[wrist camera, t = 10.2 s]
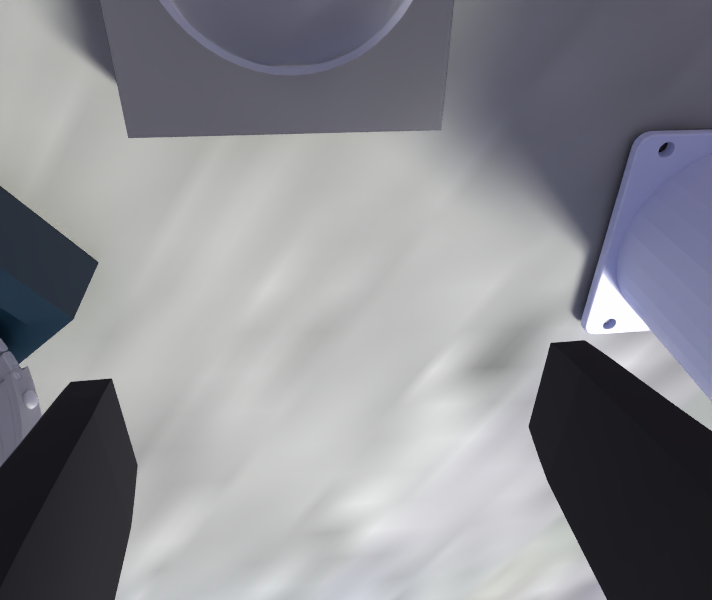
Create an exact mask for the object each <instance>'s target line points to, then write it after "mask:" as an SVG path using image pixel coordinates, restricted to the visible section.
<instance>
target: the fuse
mask: <svg viewBox="0 0 712 600" xmlns="http://www.w3.org/2000/svg"><path fill="white" fill-rule="evenodd" d="M159 1H160V2H161V4H162V5H163V6H164V7H165V9H166V10H167V11H168V13H169V14H170V15H171V16H172V18H173V19H174V20H175V21H176V22H177V23H178V24H179V25H180V26H181V27H182V28H183V29H184V30H185V31H186V32H187V33H188V34H189V35H191V36H192V37H193V38H194V39H195V40H197V41H198V42H199V43H200V44H202V45H203V46H204V47H206V48H207V49H209V50H210V51H212V52H214V53H215V54H217V55H218V56H220V57H222V58H224V59H226V60H228V61H230V62H232V63H234V64H237V65H239V66H242V67H245V68H248V69H251V70H254V71H258V72H263V73H269V74H274V75H304V74H312V73H317V72H321V71H326V70H329V69H332V68H335V67H337V66H340V65H343V64H345V63H347V62H349V61H351V60H353V59H355V58H357V57H358V56H360V55H362V54H363V53H365V52H366V51H367V50H369V49H370V48H372V47H373V46H374V45H376V44H377V43H378V42H379V41H380V40H381V39H382V38H383V37H384V36H385V35H387V34H388V33H389V32H390V31H391V29H392V28H393V27H394V26H395V25H396V24H397V22H398V21H399V20H400V19H401V18H402V16H403V15H404V13H405V12H406V10H407V9H408V7H409V6H410V4H411V3H412V1H413V0H159Z"/></svg>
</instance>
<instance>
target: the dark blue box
mask: <svg viewBox="0 0 712 600" xmlns="http://www.w3.org/2000/svg"><path fill="white" fill-rule="evenodd" d="M97 265H98V262H97V261H96V260H94V259H93V258H92V257H91V256H89V255H88V254H87V253H85V252H84V251H83V250H82V249H80V248H79V247H78V246H76V245H75V244H74V243H73V242H71V241H70V240H69V239H67V238H66V237H65V236H64V235H62V234H61V233H60V232H58V231H57V230H56V229H55V228H53V227H52V226H51V225H49V224H48V223H47V222H45V221H44V220H43V219H42V218H40V217H39V216H38V215H36V214H35V213H34V212H33V211H31V210H30V209H29V208H27V207H26V206H25V205H24V204H22V203H21V202H20V201H18V200H17V199H16V198H15V197H13V196H12V195H11V194H9V193H8V192H7V191H6V190H4V189H3V188H2V187H0V466H1V465H2V464H3V463H4V462H5V461H6V459H7V458H8V457H9V456H10V455H11V453H12V452H13V451H14V450H15V449H16V447H17V446H18V445H19V444H20V443H21V441H22V440H23V439H24V438H25V437H26V435H27V434H28V433H29V432H30V430H31V429H32V428H33V427H34V426H35V424H36V423H37V422H38V421H39V419H40V418H41V417H42V415H41V410H40V406H39V401H38V397H37V394H36V390H35V386H34V383H33V380H32V377H31V374H30V371H29V368H28V366H27V367H25V368H22V369H21V368H20V366H19V363H21V362H22V361H23V360H24V359H26V358H27V357H28V356H29V355H30V354H32V353H33V352H34V351H35V350H36V349H38V348H39V347H40V346H41V345H43V344H44V343H45V342H46V341H47V340H49V339H50V338H51V337H52V336H54V335H55V334H56V333H57V332H58V331H60V330H61V329H62V328H63V327H65V326H66V325H67V324H68V323H69V322H71V321H72V320H73V319H74V317H75V314H76V312H77V310H78V308H79V305H80V303H81V301H82V299H83V296H84V294H85V292H86V290H87V287H88V285H89V283H90V281H91V278H92V276H93V274H94V272H95V269H96V267H97Z"/></svg>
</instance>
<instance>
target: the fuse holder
mask: <svg viewBox="0 0 712 600" xmlns="http://www.w3.org/2000/svg"><path fill="white" fill-rule="evenodd" d="M100 4H101V9H102V13H103V18H104V23H105V28H106V33H107V38H108V42H109V47H110V52H111V57H112V62H113V66H114V71H115V76H116V81H117V86H118V90H119V95H120V100H121V105H122V110H123V115H124V119H125V124H126V129H127V134H128V138H148V137H187V136H226V135H265V134H304V133H343V132H381V131H420V130H441V125H442V115H443V105H444V95H445V85H446V75H447V65H448V55H449V45H450V35H451V25H452V15H453V5H454V0H413V1H412V3H411V4H410V6H409V7H408V9H407V10H406V12H405V13H404V15H403V16H402V18H401V19H400V20H399V21H398V22H397V24H396V25H395V26H394V27H393V28H392V29H391V31H390V32H389V33H388V34H387V35H385V36H384V37H383V38H382V39H381V40H380V41H379V42H378V43H377V44H376V45H374V46H373V47H372V48H370V49H369V50H367V51H366V52H365V53H363V54H362V55H360V56H358V57H357V58H355V59H353V60H351V61H349V62H347V63H345V64H343V65H340V66H337V67H335V68H332V69H329V70H326V71H321V72H317V73H312V74H304V75H274V74H269V73H263V72H258V71H254V70H251V69H248V68H245V67H242V66H239V65H237V64H234V63H232V62H230V61H228V60H226V59H224V58H222V57H220V56H218V55H217V54H215V53H214V52H212V51H210V50H209V49H207V48H206V47H204V46H203V45H202V44H200V43H199V42H198V41H197V40H195V39H194V38H193V37H192V36H191V35H189V34H188V33H187V32H186V31H185V30H184V29H183V28H182V27H181V26H180V25H179V24H178V23H177V22H176V21H175V20H174V19H173V18H172V16H171V15H170V14H169V13H168V11H167V10H166V9H165V7H164V6H163V5H162V4H161V2H160V1H159V0H100Z"/></svg>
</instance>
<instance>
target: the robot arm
mask: <svg viewBox="0 0 712 600" xmlns="http://www.w3.org/2000/svg"><path fill="white" fill-rule="evenodd" d="M666 142H668V145H667V147H666V149H665V150H664V151H662V152H660V153H659V149H660V147H661V146H662V145H663V144H664V143H666ZM608 319H610V320H609V321H608V322H607V323H604V322H605V321H606V320H608ZM581 325H582V327H583V328H584V330H585V331H586V332H587V333H589V334H605V333H621V332H636V331H652V332H653V334H654V335H655V336H656V337H657V338H658V339H659V341H660V342H661V343H662V344H663V345H664V346H665V348H666V349H667V350H668V351H669V352H670V353H671V355H672V356H673V357H674V358H675V359H676V360H677V362H678V363H679V364H680V365H681V366H682V367H683V369H684V370H685V371H686V372H687V373H688V374H689V376H690V377H691V378H692V379H693V380H694V381H695V383H696V384H697V385H698V386H699V387H700V388H701V390H702V391H703V392H704V393H705V394H706V395H707V397H708V398H709V399H710V400H711V401H712V129H708V130H671V131H649V132H645V133H643V134H641V135H640V136H639V137H638V138H637V139H636V140H635V141H634V143H633V145H632V148H631V151H630V155H629V158H628V161H627V165H626V168H625V172H624V175H623V179H622V182H621V185H620V189H619V192H618V196H617V199H616V203H615V206H614V209H613V213H612V216H611V220H610V223H609V227H608V230H607V233H606V237H605V240H604V244H603V247H602V251H601V254H600V257H599V261H598V264H597V268H596V271H595V275H594V278H593V281H592V285H591V288H590V292H589V295H588V299H587V302H586V305H585V309H584V312H583V316H582V319H581ZM529 429H530V432H531V435H532V438H533V441H534V444H535V447H536V450H537V453H538V456H539V459H540V462H541V465H542V467H543V470H544V473H545V475H546V478H547V481H548V483H549V485H550V487H551V489H552V491H553V493H554V495H555V497H556V499H557V501H558V503H559V505H560V507H561V509H562V511H563V513H564V515H565V517H566V519H567V521H568V523H569V525H570V527H571V529H572V531H573V533H574V535H575V537H576V539H577V541H578V543H579V545H580V547H581V549H582V551H583V553H584V555H585V557H586V559H587V561H588V563H589V565H590V567H591V569H592V571H593V573H594V575H595V577H596V579H597V581H598V583H599V584H600V586H601V588H602V590H603V592H604V594H605V596H606V598H607V600H712V431H711V430H709V429H708V428H707V427H705V426H704V425H702V424H701V423H699V422H698V421H697V420H695V419H694V418H692V417H691V416H689V415H688V414H687V413H685V412H684V411H682V410H681V409H680V408H678V407H677V406H675V405H674V404H673V403H671V402H670V401H668V400H667V399H666V398H664V397H663V396H662V395H660V394H659V393H657V392H656V391H655V390H653V389H652V388H651V387H649V386H648V385H647V384H645V383H644V382H642V381H641V380H640V379H638V378H637V377H636V376H634V375H633V374H632V373H630V372H629V371H627V370H626V369H625V368H623V367H622V366H621V365H619V364H618V363H616V362H615V361H614V360H612V359H611V358H610V357H608V356H607V355H605V354H604V353H603V352H601V351H600V350H598V349H597V348H595V347H594V346H592V345H591V344H589V343H588V342H586V341H585V340H582V341H570V342H558V343H551V344H550V348H549V352H548V355H547V359H546V363H545V367H544V370H543V374H542V378H541V382H540V386H539V389H538V393H537V397H536V401H535V404H534V408H533V412H532V416H531V419H530V423H529ZM137 466H138V465H137V462H136V459H135V455H134V452H133V448H132V445H131V442H130V438H129V435H128V432H127V428H126V425H125V421H124V418H123V415H122V411H121V408H120V405H119V401H118V398H117V394H116V391H115V388H114V384H113V381H112V379H101V380H89V381H76V382H70V383H69V385H68V386H67V387H66V388H65V389H64V390H63V391H62V392H61V394H60V395H59V396H58V397H57V398H56V400H55V401H54V402H53V403H52V405H51V406H50V407H49V408H48V409H47V411H46V412H45V413H44V414H43V416H42V417H41V418H40V419H39V421H38V422H37V423H36V424H35V426H34V427H33V428H32V429H31V430H30V432H29V433H28V434H27V435H26V437H25V438H24V439H23V440H22V441H21V443H20V444H19V445H18V446H17V447H16V449H15V450H14V451H13V452H12V453H11V455H10V456H9V457H8V458H7V459H6V461H5V462H4V463H3V464H2V465H1V466H0V600H115V596H116V591H117V587H118V583H119V578H120V574H121V570H122V565H123V561H124V556H125V552H126V548H127V543H128V539H129V534H130V529H131V523H132V515H133V506H134V497H135V487H136V476H137Z"/></svg>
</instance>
